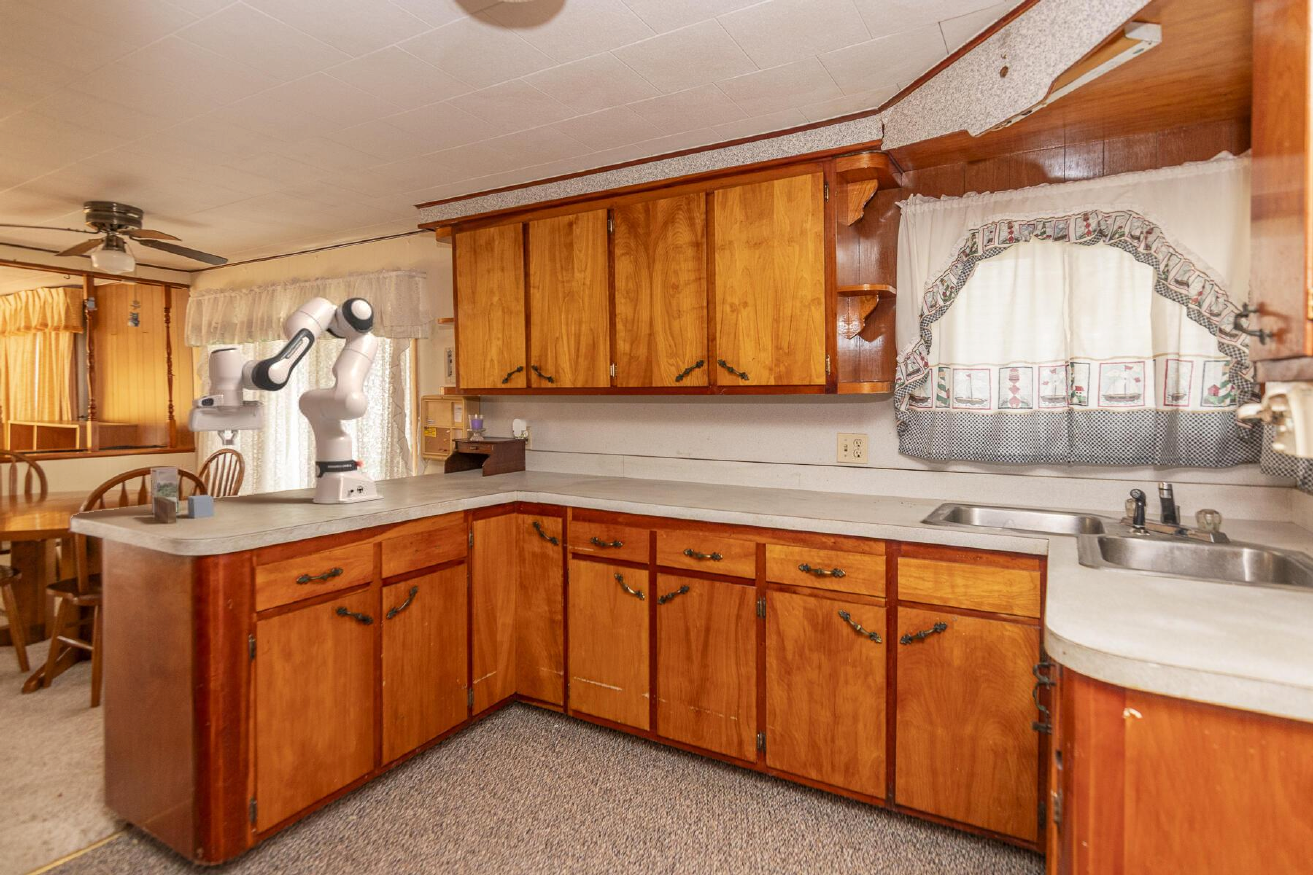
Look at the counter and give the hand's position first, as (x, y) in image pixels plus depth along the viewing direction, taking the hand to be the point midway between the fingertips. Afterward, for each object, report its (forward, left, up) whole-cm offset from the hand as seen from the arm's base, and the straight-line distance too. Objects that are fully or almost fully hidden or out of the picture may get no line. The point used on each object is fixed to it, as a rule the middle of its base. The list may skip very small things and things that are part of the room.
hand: (228, 445), depth 212 cm
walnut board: (+17, 0, -21) cm, 27 cm away
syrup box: (+14, -14, -21) cm, 29 cm away
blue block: (+8, 0, -21) cm, 23 cm away
